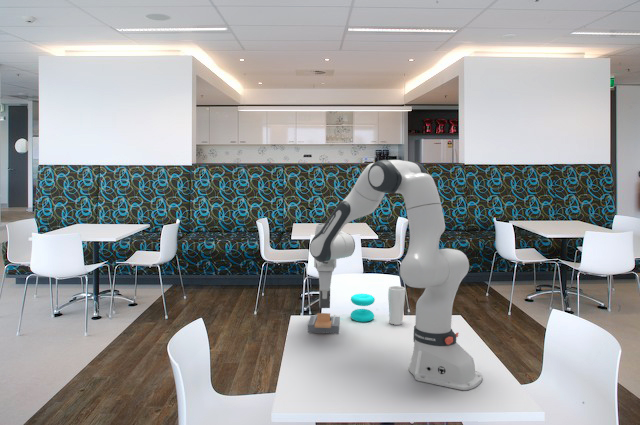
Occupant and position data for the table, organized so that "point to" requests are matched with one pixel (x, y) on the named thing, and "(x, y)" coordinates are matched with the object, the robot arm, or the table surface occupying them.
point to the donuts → (362, 314)
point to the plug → (324, 300)
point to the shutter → (323, 320)
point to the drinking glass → (396, 304)
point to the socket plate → (333, 328)
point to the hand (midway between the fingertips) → (324, 296)
